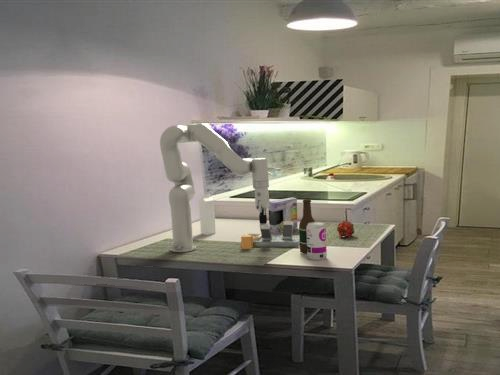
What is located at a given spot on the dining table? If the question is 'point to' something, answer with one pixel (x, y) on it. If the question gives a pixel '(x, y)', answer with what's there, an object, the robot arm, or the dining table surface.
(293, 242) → the breaker panel
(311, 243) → the supplement can
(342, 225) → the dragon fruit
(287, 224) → the block
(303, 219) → the beer bottle
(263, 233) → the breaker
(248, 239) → the orange rectangular block
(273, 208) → the cake pan box
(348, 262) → the dining table surface
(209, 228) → the milk
